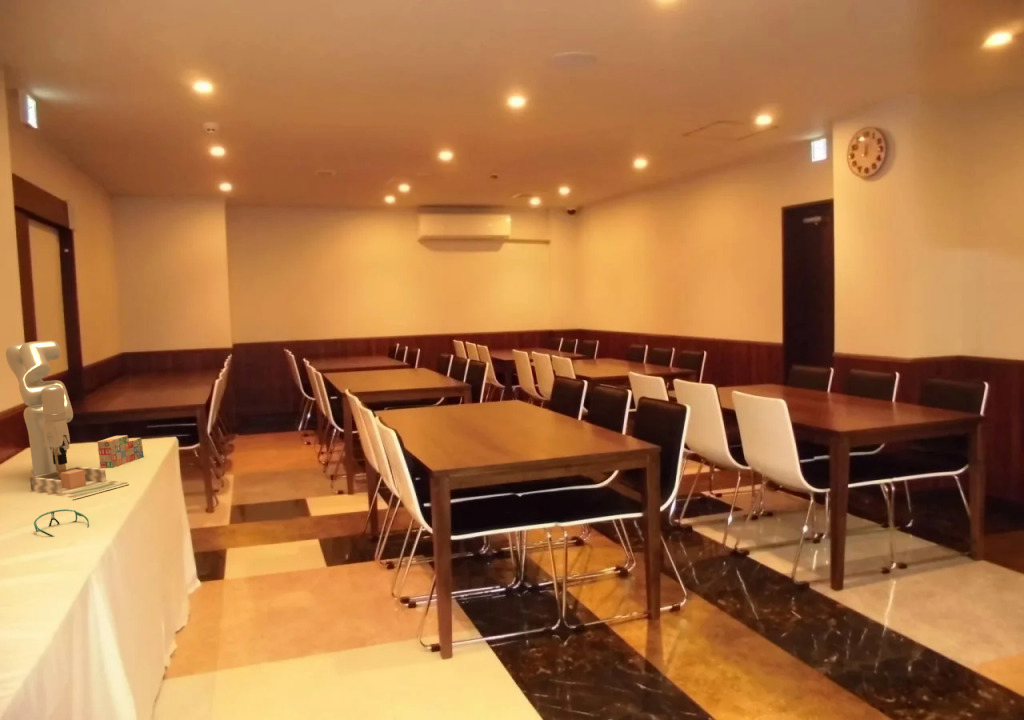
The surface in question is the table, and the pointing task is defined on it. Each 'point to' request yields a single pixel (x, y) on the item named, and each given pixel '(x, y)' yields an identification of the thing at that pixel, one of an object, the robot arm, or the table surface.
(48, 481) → the cubby
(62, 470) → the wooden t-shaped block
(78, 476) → the block
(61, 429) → the robot arm
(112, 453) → the stack of blocks
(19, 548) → the table surface
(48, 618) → the table surface
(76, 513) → the sunglasses
